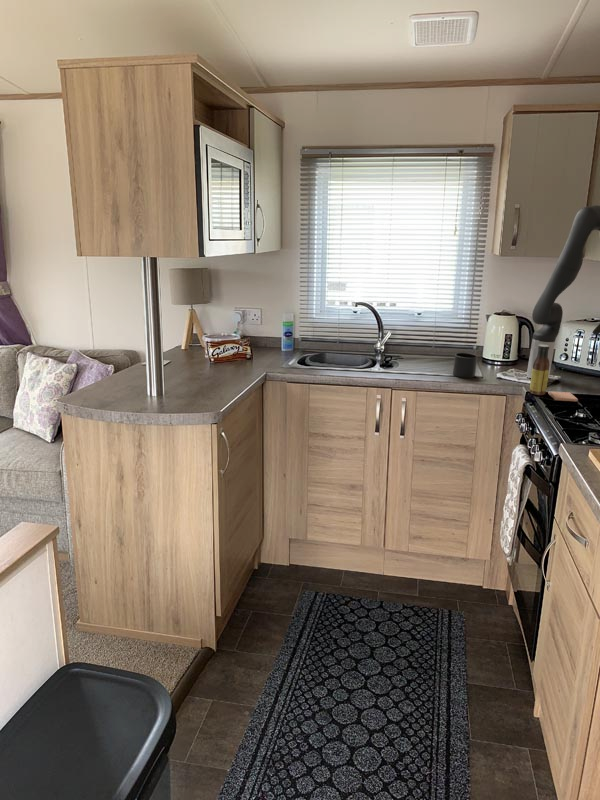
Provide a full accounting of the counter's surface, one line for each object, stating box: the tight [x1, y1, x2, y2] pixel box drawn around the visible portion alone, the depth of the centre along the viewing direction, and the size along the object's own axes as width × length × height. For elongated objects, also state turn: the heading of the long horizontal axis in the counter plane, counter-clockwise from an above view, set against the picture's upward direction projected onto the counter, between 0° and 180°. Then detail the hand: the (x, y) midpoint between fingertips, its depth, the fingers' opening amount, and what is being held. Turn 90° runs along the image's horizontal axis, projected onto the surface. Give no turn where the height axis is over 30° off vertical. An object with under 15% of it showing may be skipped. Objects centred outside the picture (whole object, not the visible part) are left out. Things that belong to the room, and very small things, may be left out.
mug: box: [452, 352, 478, 379], centre depth 267 cm, size 9×12×9 cm
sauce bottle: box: [529, 345, 550, 396], centre depth 242 cm, size 6×6×20 cm
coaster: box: [547, 390, 579, 402], centre depth 241 cm, size 8×8×1 cm
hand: (596, 332), depth 233 cm, fingers open, 8 cm apart
